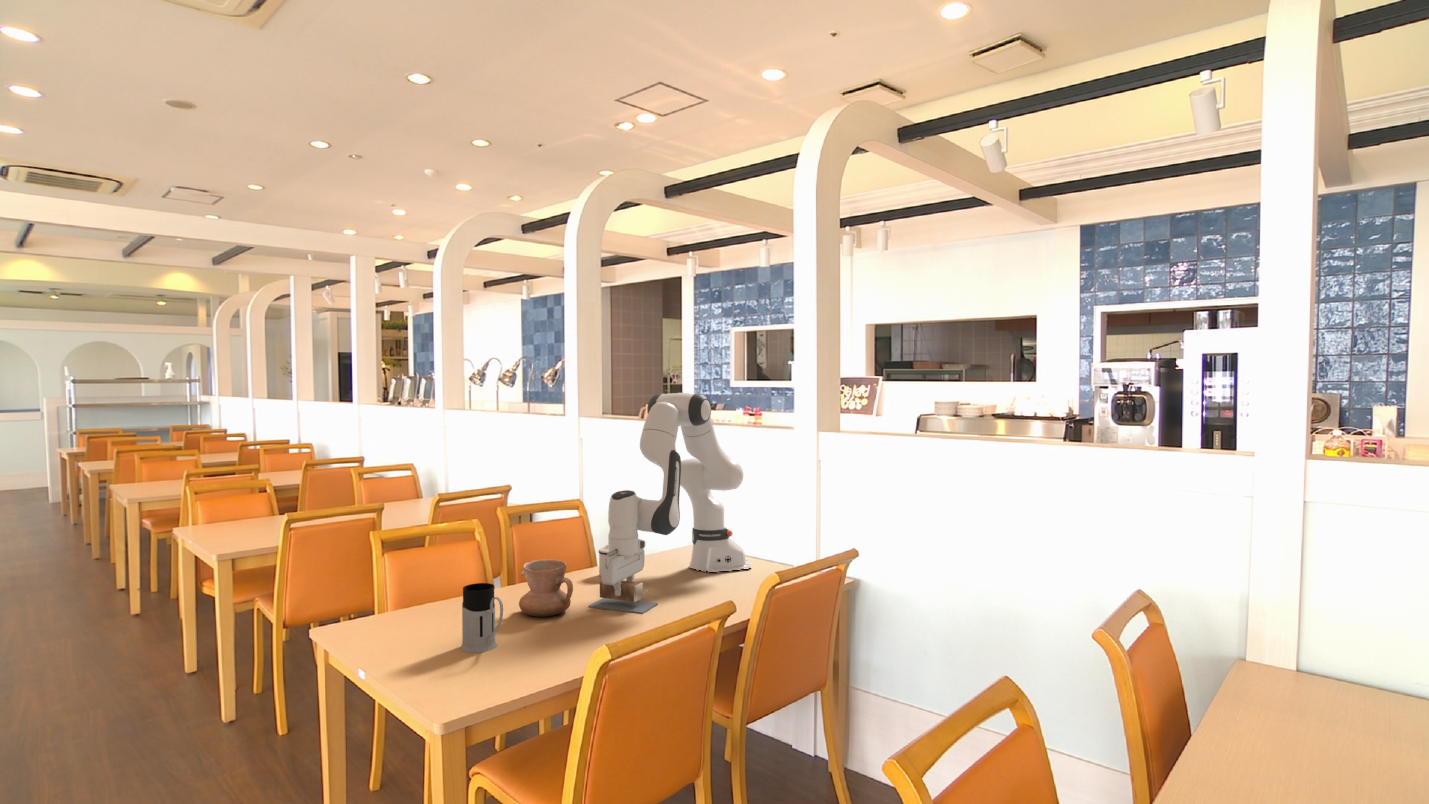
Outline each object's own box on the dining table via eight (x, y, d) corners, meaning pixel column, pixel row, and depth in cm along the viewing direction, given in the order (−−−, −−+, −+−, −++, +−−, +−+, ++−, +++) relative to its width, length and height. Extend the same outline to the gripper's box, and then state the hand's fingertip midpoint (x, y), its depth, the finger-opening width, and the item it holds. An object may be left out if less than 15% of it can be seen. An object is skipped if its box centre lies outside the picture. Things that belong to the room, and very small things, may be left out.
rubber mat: (588, 607, 222) (588, 605, 222) (605, 598, 231) (605, 597, 231) (643, 613, 216) (643, 612, 216) (658, 604, 225) (658, 603, 225)
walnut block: (599, 582, 224) (635, 586, 219) (607, 578, 228) (642, 582, 224) (599, 597, 224) (635, 601, 220) (607, 593, 228) (642, 597, 224)
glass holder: (484, 638, 195) (483, 580, 194) (517, 650, 186) (517, 589, 185) (453, 647, 188) (453, 587, 188) (486, 660, 179) (486, 597, 178)
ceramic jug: (504, 615, 214) (504, 565, 214) (539, 601, 227) (539, 555, 227) (553, 626, 206) (554, 574, 205) (587, 611, 218) (587, 563, 218)
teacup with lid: (615, 580, 253) (615, 545, 253) (593, 577, 257) (593, 543, 257) (634, 572, 264) (634, 539, 264) (612, 569, 268) (612, 537, 268)
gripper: (615, 554, 212) (615, 603, 213) (648, 540, 231) (648, 585, 232) (596, 552, 215) (596, 600, 215) (629, 539, 234) (630, 583, 234)
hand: (623, 592), depth 224 cm, fingers closed on walnut block, 4 cm apart
